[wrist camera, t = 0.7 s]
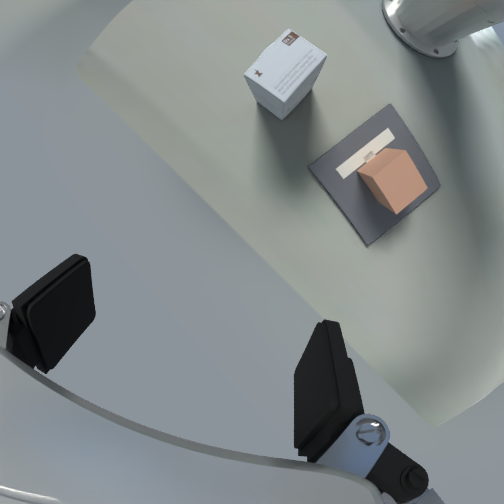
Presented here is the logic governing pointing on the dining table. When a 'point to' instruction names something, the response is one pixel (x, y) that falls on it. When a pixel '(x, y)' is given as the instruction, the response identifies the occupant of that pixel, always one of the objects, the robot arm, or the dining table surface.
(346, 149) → the letter mat
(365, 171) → the block
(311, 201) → the dining table surface
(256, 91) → the skincare box
